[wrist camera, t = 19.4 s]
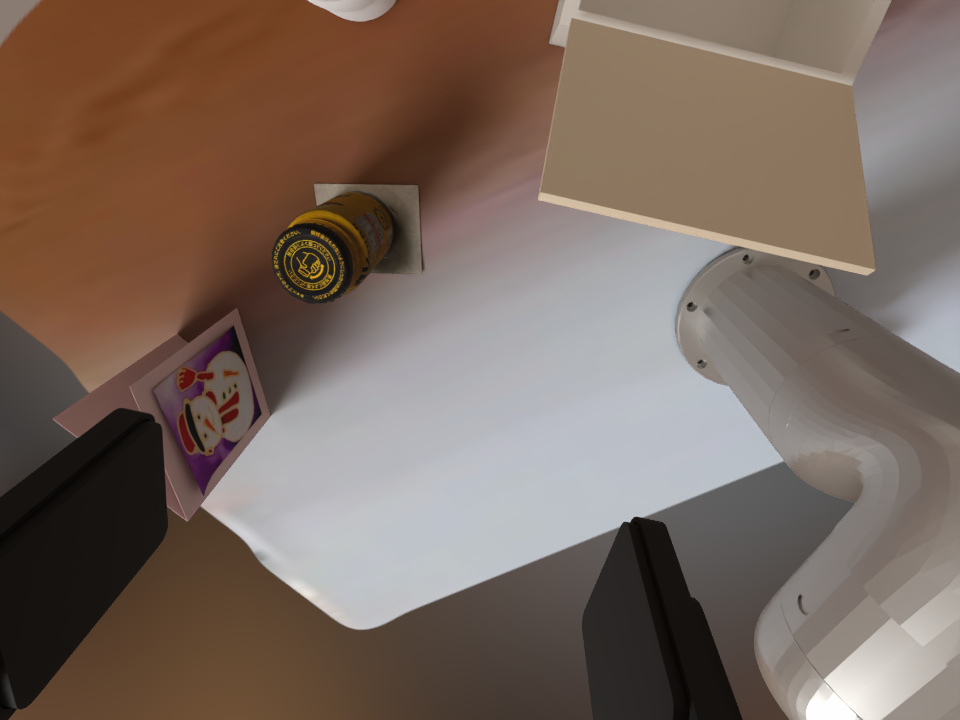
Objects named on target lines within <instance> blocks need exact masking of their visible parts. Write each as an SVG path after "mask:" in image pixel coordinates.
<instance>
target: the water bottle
mask: <svg viewBox="0 0 960 720" xmlns="http://www.w3.org/2000/svg"><path fill="white" fill-rule="evenodd" d="M308 1H310V2H311V3H313V4H315V5H317V6H319V7H321V8H324V9H327V10H328V11H330V12H331V13H333V14H335V15H337V16H339V17H341V18H344V19H347V20H351V21H368V20H372V19H375V18H377V17H379V16H381V15H383V14H384V13H386V12H387V11H388V10H389V9H390V8H391V7H392V6H393V5H394V3H395V2H396V1H397V0H308Z"/></svg>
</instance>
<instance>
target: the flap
mask: <svg viewBox="0 0 960 720" xmlns="http://www.w3.org/2000/svg"><path fill="white" fill-rule="evenodd" d="M538 200H541V201H545V202H550V203H554V204H558V205H563V206H567V207H571V208H576V209H580V210H584V211H589V212H593V213H597V214H602V215H606V216H610V217H615V218H619V219H623V220H628V221H632V222H636V223H641V224H645V225H649V226H654V227H658V228H662V229H667V230H671V231H675V232H680V233H684V234H688V235H692V236H697V237H701V238H705V239H710V240H714V241H718V242H723V243H727V244H731V245H736V246H740V247H744V248H749V249H753V250H757V251H762V252H766V253H770V254H775V255H779V256H783V257H788V258H792V259H796V260H801V261H805V262H809V263H814V264H818V265H822V266H827V267H831V268H835V269H840V270H844V271H848V272H853V273H857V274H861V275H866V276H868V275H869V274H871V273H872V272H874V271H875V270H876V266H875V258H874V250H873V243H872V235H871V228H870V220H869V213H868V205H867V198H866V190H865V182H864V175H863V167H862V160H861V152H860V145H859V137H858V129H857V122H856V114H855V107H854V99H853V92H852V86H850V85H846V84H842V83H838V82H834V81H830V80H826V79H821V78H817V77H813V76H809V75H805V74H801V73H797V72H793V71H789V70H784V69H780V68H776V67H772V66H768V65H764V64H760V63H756V62H752V61H747V60H743V59H739V58H735V57H731V56H727V55H723V54H719V53H715V52H710V51H706V50H702V49H698V48H694V47H690V46H686V45H682V44H678V43H673V42H669V41H665V40H661V39H657V38H653V37H649V36H645V35H641V34H636V33H632V32H628V31H624V30H620V29H616V28H612V27H608V26H603V25H599V24H595V23H591V22H587V21H583V20H579V19H575V18H571V22H570V25H569V30H568V35H567V41H566V46H565V52H564V58H563V63H562V69H561V74H560V80H559V85H558V91H557V96H556V102H555V107H554V113H553V118H552V124H551V130H550V135H549V141H548V146H547V152H546V157H545V163H544V168H543V174H542V179H541V185H540V191H539V196H538Z"/></svg>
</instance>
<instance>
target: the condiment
mask: <svg viewBox="0 0 960 720" xmlns="http://www.w3.org/2000/svg"><path fill="white" fill-rule="evenodd" d="M314 188H315V196H316V203H317V206H316V207H315V208H313V209H310V210H308V211H306V212H304V213H303V214H302V215H300V216H298V217H297V218H296V219H295V220H294V221H293V222H292V223H291V224H290V225H289V226H288V228H287V229H286V231H284V232H283V233H282V234H281V235H280V236H279V237H278V239H277V240H276V242H275V244H274V247H273V251H272V266H273V271H274V274H275V276H276V277H277V279H278V281H279V283H280V284H281V285H282V286H283V287H284V289H285V290H286V291H288V292H289V293H290V295H292V296H293V297H296V298H298V299H300V300H302V301H305V302H307V303H313V304H314V303H327V302H329V301H331V302H332V301H334V300H335V299H336V298H339V297H341V295H344V294H346V293H348V292H350V291H352V290H354V289H355V288H356V287H358V286H359V284H360V283H361V282H362V281H363V280H364V279H365V278H366V277H367V276H368V275H369V274H370V273H392V274H394V273H397V274H422V266H421V237H420V216H419V194H418V185H369V184H314ZM390 208H392V211H391V210H390ZM394 211H396V212H397V214H395V213H394ZM385 257H386V259H385Z"/></svg>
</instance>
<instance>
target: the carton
mask: <svg viewBox="0 0 960 720" xmlns="http://www.w3.org/2000/svg"><path fill="white" fill-rule="evenodd" d="M891 1H892V0H559V2H558V6H557V11H556V15H555V19H554V24H553V28H552V32H551V36H550V41H549V44H552V45H557V46H561V47H565V46H566V41H567V35H568V30H569V25H570V22H571V18H575V19H579V20H583V21H587V22H591V23H595V24H599V25H603V26H608V27H612V28H616V29H620V30H624V31H628V32H632V33H636V34H641V35H645V36H649V37H653V38H657V39H661V40H665V41H669V42H673V43H678V44H682V45H686V46H690V47H694V48H698V49H702V50H706V51H710V52H715V53H719V54H723V55H727V56H731V57H735V58H739V59H743V60H747V61H752V62H756V63H760V64H764V65H768V66H772V67H776V68H780V69H784V70H789V71H793V72H797V73H801V74H805V75H809V76H813V77H817V78H821V79H826V80H830V81H834V82H838V83H842V84H846V85H850V86H852V85H853V83H854V81H855V78H856V76H857V74H858V72H859V70H860V68H861V65H862V63H863V61H864V59H865V57H866V55H867V52H868V50H869V48H870V46H871V44H872V42H873V40H874V37H875V35H876V33H877V31H878V29H879V27H880V24H881V22H882V20H883V18H884V16H885V14H886V11H887V9H888V7H889V5H890V3H891Z"/></svg>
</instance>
